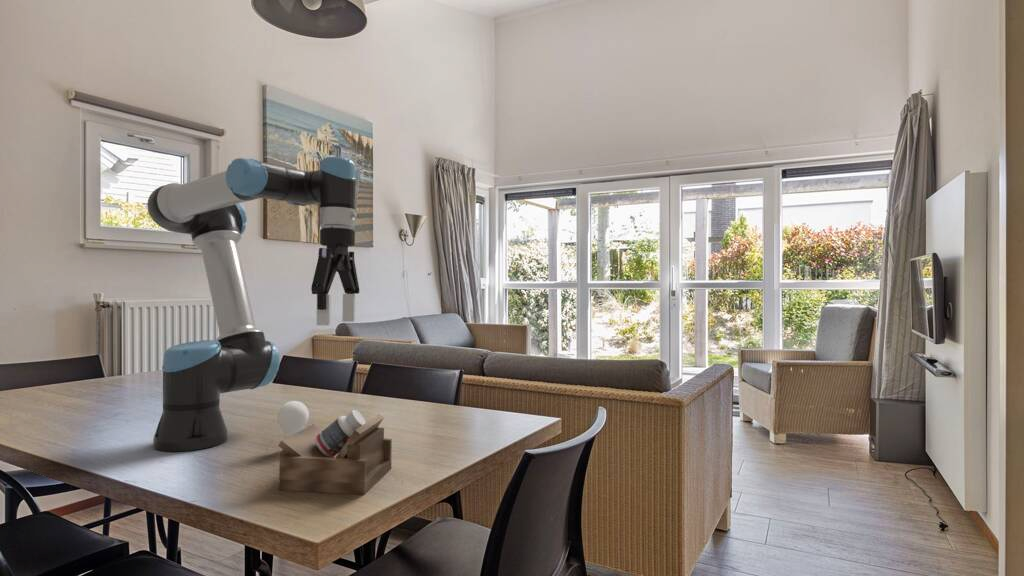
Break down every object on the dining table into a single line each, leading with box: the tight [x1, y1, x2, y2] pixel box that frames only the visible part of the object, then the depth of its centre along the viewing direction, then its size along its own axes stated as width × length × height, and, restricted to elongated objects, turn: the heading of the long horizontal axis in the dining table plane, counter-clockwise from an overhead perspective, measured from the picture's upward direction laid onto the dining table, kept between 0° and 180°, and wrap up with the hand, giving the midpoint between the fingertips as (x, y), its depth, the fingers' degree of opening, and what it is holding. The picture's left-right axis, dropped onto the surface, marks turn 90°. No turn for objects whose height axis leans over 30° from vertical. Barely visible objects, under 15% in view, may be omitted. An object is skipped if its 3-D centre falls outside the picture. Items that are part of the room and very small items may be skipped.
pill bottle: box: [315, 409, 367, 457], centre depth 111 cm, size 5×5×9 cm
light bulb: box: [277, 400, 310, 439], centre depth 130 cm, size 7×7×11 cm
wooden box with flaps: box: [277, 413, 393, 496], centre depth 111 cm, size 17×15×11 cm
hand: (336, 323), depth 129 cm, fingers open, 13 cm apart
